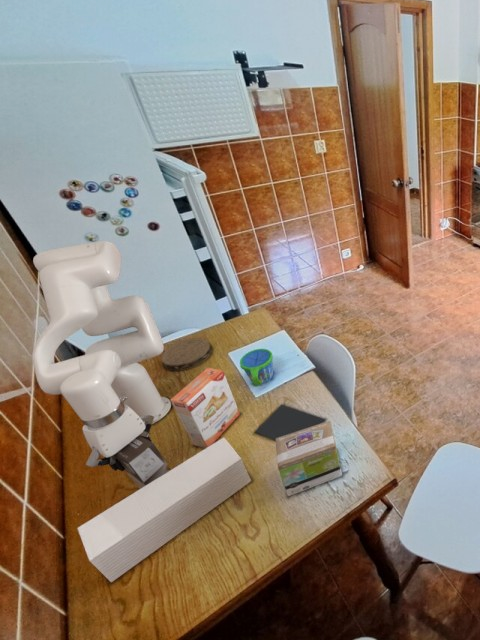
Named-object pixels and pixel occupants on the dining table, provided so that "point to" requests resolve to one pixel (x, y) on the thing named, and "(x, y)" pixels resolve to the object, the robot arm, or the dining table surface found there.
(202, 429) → the cracker box
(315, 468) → the tea box
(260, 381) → the snack cup
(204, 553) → the dining table surface
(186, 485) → the white long rectangular block
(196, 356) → the round cork coaster
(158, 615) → the dining table surface
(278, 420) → the placemat
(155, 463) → the coffee box
